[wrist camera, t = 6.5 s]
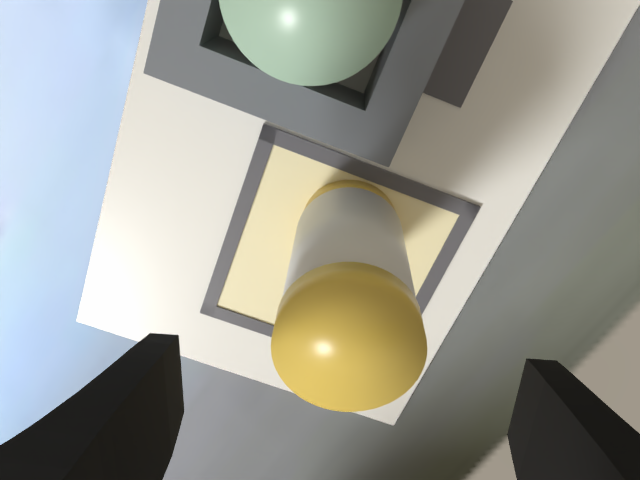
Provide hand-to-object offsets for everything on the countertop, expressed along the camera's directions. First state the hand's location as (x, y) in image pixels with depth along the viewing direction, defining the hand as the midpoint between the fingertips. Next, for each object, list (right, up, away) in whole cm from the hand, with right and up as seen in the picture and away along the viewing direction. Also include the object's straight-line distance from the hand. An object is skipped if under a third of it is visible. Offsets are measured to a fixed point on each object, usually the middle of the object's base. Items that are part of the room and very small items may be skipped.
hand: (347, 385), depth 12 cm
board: (0, +5, +7) cm, 9 cm away
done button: (-1, +10, +3) cm, 10 cm away
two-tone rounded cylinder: (0, +4, +7) cm, 8 cm away
